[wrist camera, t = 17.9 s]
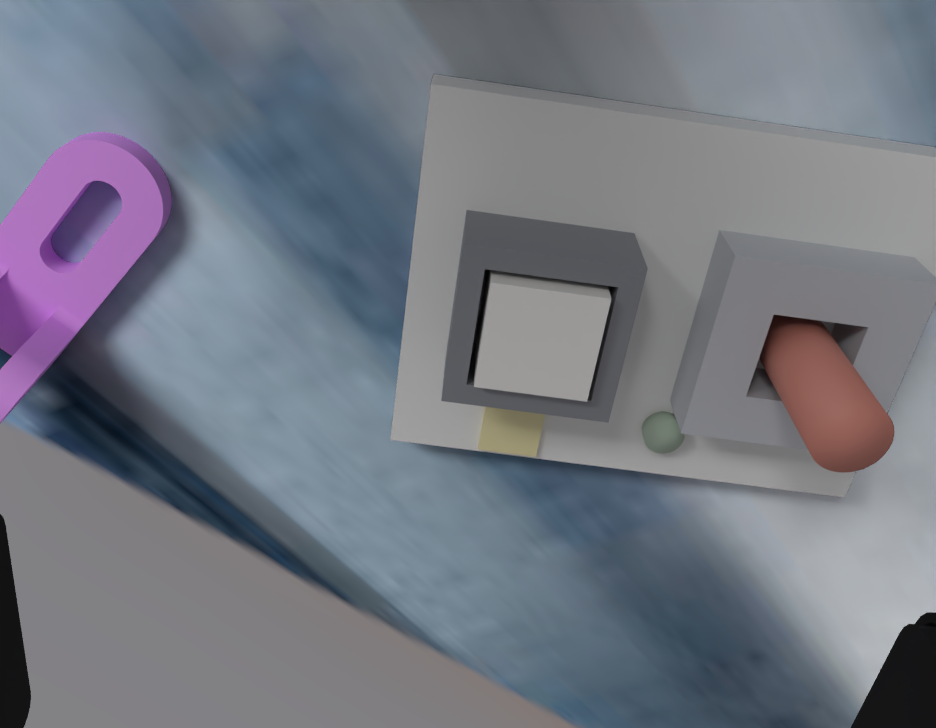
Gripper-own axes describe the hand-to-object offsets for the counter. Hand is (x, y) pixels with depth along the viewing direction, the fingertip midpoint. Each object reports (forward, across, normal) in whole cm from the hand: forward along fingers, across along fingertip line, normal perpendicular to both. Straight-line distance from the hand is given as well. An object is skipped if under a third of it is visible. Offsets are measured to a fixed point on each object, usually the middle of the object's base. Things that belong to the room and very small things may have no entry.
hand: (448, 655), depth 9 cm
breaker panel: (+33, -10, +10) cm, 36 cm away
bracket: (+34, +18, +12) cm, 40 cm away
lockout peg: (+31, -16, +10) cm, 37 cm away
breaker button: (+31, -4, +10) cm, 33 cm away
